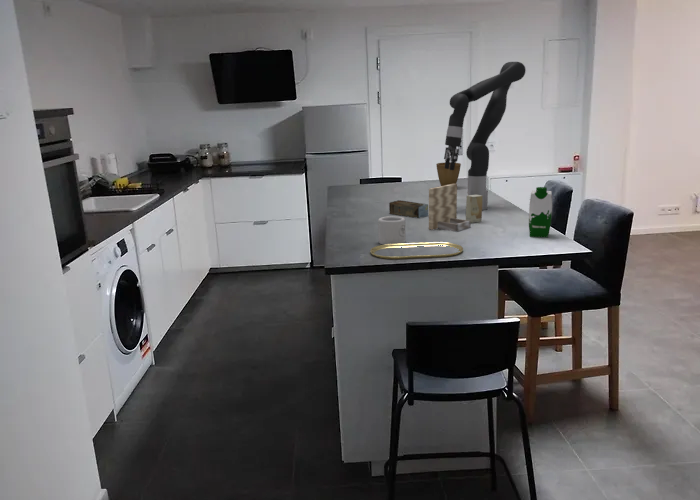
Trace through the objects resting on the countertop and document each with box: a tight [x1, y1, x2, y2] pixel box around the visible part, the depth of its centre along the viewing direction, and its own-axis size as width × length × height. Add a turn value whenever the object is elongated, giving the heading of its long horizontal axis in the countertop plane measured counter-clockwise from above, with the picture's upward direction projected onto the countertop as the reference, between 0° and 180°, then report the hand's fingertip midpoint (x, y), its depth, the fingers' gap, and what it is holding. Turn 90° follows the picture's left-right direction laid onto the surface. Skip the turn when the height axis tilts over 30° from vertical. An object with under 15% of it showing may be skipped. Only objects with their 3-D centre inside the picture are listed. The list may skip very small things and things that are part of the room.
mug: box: [377, 215, 406, 245], centre depth 236 cm, size 14×11×10 cm
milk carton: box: [528, 186, 553, 238], centre depth 238 cm, size 9×9×20 cm
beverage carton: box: [388, 199, 429, 219], centre depth 290 cm, size 8×19×7 cm, turn 46°
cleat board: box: [428, 183, 472, 232], centre depth 257 cm, size 18×12×18 cm
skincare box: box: [465, 194, 483, 224], centre depth 269 cm, size 6×4×12 cm
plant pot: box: [436, 162, 462, 186], centre depth 363 cm, size 15×15×16 cm
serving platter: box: [369, 241, 464, 260], centre depth 221 cm, size 19×35×2 cm, turn 93°
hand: (449, 169), depth 289 cm, fingers open, 8 cm apart
